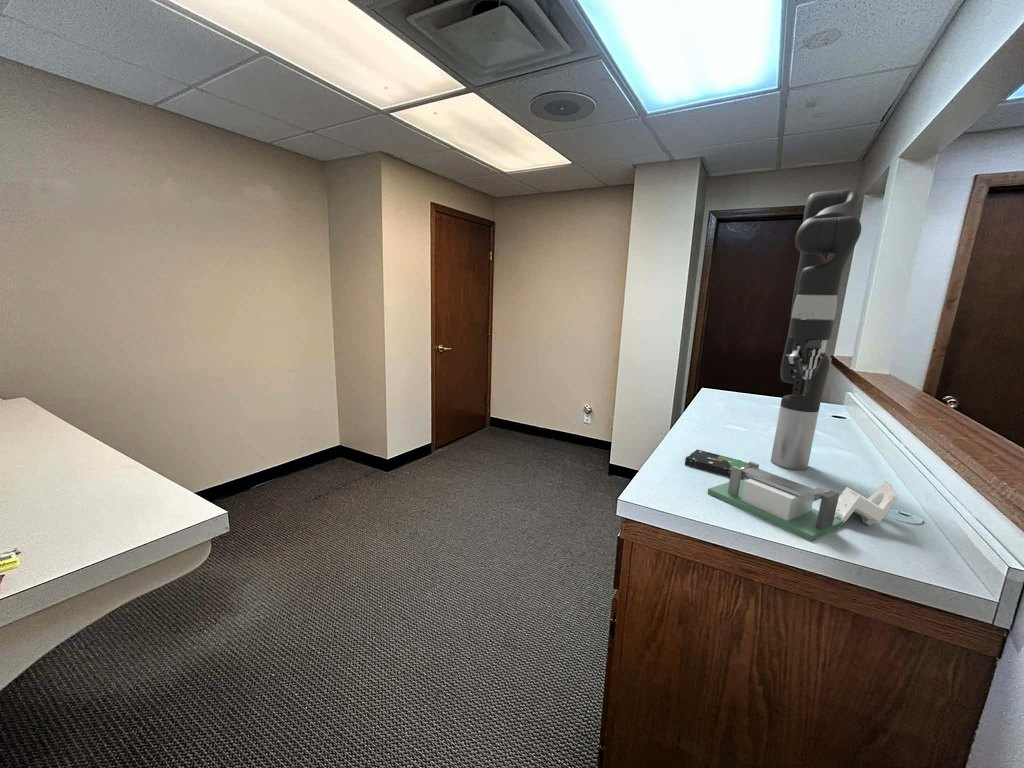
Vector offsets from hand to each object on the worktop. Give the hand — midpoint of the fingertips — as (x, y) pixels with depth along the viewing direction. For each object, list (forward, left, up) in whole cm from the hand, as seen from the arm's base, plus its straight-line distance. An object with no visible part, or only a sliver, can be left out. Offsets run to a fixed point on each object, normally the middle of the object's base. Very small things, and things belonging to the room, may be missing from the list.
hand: (798, 395), depth 92 cm
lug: (+4, +11, -25) cm, 28 cm away
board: (+4, +1, -26) cm, 27 cm away
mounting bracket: (-9, +12, -27) cm, 31 cm away
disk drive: (-7, -20, -27) cm, 35 cm away
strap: (+4, +1, -20) cm, 21 cm away
